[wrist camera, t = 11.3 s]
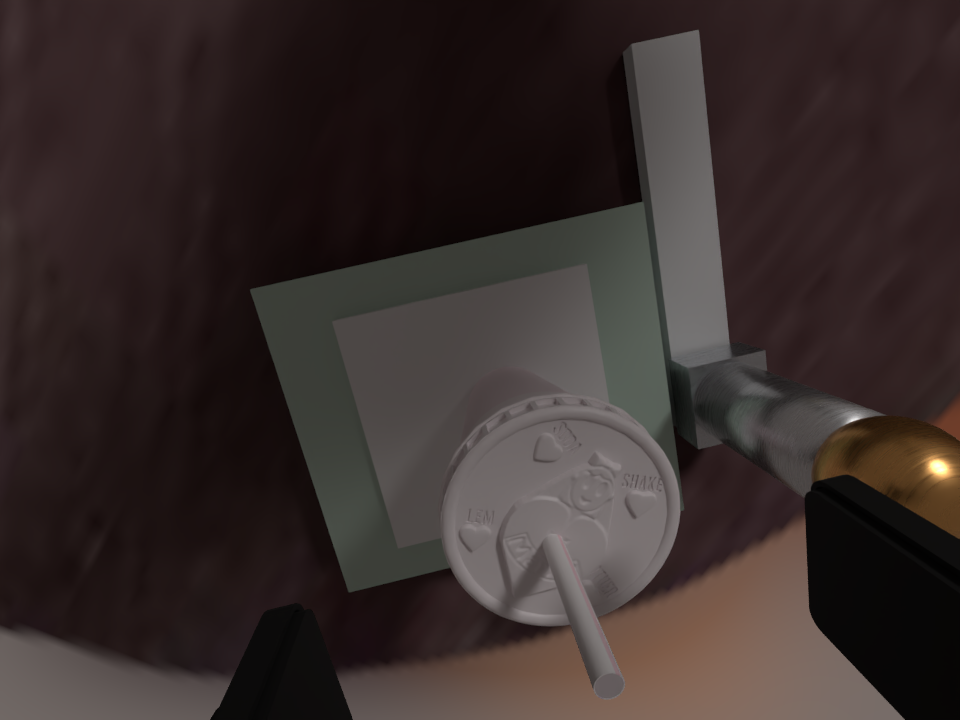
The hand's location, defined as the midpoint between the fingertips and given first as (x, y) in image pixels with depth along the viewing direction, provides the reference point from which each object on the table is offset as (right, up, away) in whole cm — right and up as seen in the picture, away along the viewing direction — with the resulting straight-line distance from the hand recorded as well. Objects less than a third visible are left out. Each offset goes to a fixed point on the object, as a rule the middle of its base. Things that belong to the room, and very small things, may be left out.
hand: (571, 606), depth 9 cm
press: (0, +6, +15) cm, 16 cm away
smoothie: (0, +3, +13) cm, 13 cm away
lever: (+10, +3, +15) cm, 18 cm away
